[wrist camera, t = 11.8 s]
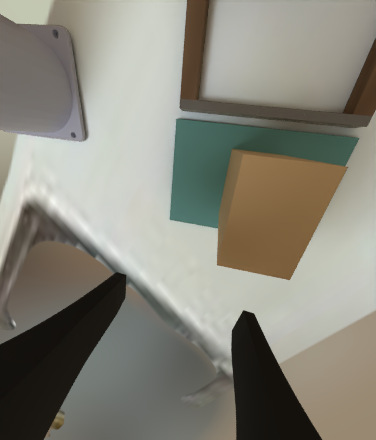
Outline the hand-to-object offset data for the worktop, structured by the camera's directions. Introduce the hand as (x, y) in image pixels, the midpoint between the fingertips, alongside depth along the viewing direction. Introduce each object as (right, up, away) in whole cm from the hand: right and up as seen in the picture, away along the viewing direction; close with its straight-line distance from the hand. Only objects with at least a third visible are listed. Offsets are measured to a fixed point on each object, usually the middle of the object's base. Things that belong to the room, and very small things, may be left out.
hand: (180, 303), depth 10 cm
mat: (+6, +8, +5) cm, 12 cm away
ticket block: (+6, +8, +5) cm, 11 cm away
